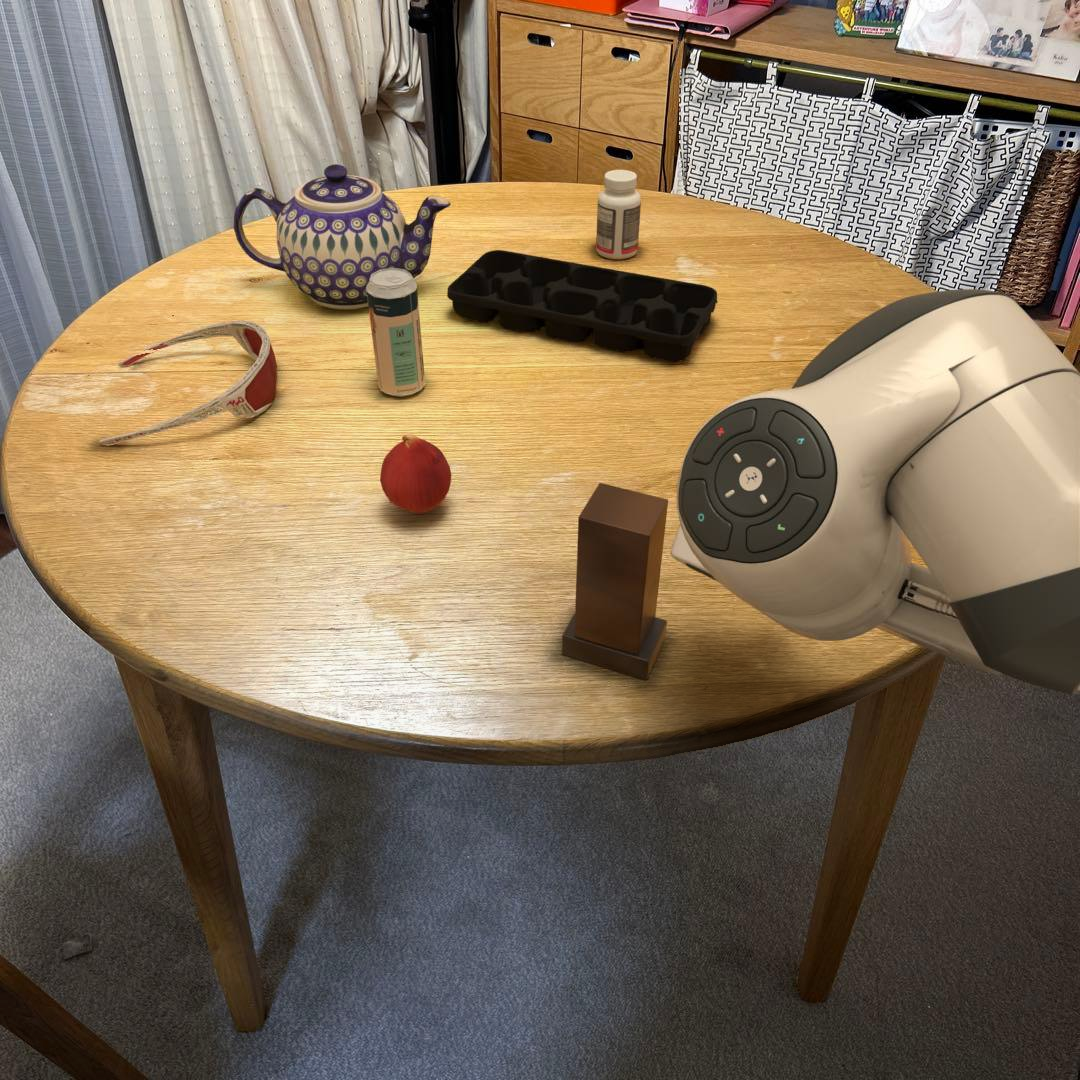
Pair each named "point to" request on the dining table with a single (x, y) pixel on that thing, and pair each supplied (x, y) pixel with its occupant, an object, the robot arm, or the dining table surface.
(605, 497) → the brown rectangular block
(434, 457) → the onion
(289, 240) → the teapot
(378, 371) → the beer can
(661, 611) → the dining table surface
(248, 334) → the sunglasses
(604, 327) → the black muffin tray
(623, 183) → the pill bottle
